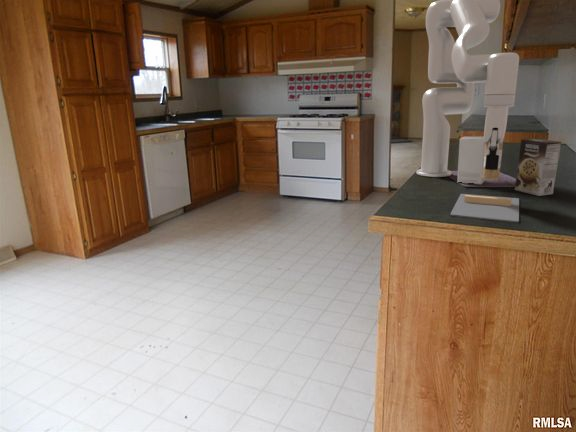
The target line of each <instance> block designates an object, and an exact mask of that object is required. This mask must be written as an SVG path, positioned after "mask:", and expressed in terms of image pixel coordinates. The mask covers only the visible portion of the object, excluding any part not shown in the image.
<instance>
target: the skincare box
mask: <svg viewBox="0 0 576 432" xmlns="http://www.w3.org/2000/svg"><path fill="white" fill-rule="evenodd" d="M483 138H484V136H469V135H468V136H467V135H466V136H465V135H464V136H462V137H460V138H459V142H458V143H459V147H458V161H457V163H458V164H457V183H458V182H462V183H461V184H468V183H474V184H473V185H482V184H483V183H484V182H485V181H486V179H483V178H482V176H483V169H484V157H485V149H486V144H484V143H483ZM458 184H459V183H458Z"/></svg>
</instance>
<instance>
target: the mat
mask: <svg viewBox="0 0 576 432" xmlns="http://www.w3.org/2000/svg"><path fill="white" fill-rule="evenodd" d="M449 217H458V218H471V219H480V220H490V221H498V222H507V223H508V222H509V223H520V198H519V197H518V198H517V197H505V196H496V195H495V196H492V195H480V194H470V193H469V194H468V193H460V194H459V196H458V198H457V200H456V202H455V204H454V206H453V208H452V210H451V212H450V214H449Z"/></svg>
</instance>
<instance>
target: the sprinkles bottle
mask: <svg viewBox="0 0 576 432" xmlns="http://www.w3.org/2000/svg"><path fill="white" fill-rule="evenodd" d="M492 132H493V131H492ZM497 135H498V133H497ZM504 139H505V138H504ZM504 139H503V142H502V144H500V146H499V153H498V155H499V162H498V169H497V170H487V169H485V164H486V155H487V153H488V144H489V140H488V142H486V149H485V157H484V169H483V176H482V178H483V179H485V180H488V181H490V180H491V181H497V180H500V172H501V171H500V170H501V167H502V166H501V165H502V155H503V145H504ZM498 140H499V137H498ZM490 144H491V141H490ZM496 144H498V142H496ZM496 152H497V150H496Z"/></svg>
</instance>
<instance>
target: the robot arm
mask: <svg viewBox="0 0 576 432" xmlns="http://www.w3.org/2000/svg"><path fill="white" fill-rule="evenodd" d="M500 11H501V1H500V0H436V1H434V2H431V4H430V5H429V6H428V8H427V10H426V13H425V14H426V15H425V29H426V33H427V34H426V35H427V38H428V60H427V61H428V63H427V77H428V80H429V82H430V83H432V84H456V87H455V86H453V87H450V86H449V87H447V86H446V87H432V88H430V89H429V88H428V90H426V91H425V92H424V93H423V95H422V100H421V103H422V114H423V125H422V127H423V129H422V130H423V131H422V146H421V160H420V161H421V163H420V168H418V169H417V170H416V175H418V176H422V177H429V178H430V177H431V178H442V177H443V178H445V177H449V176H451V175H452V171H451V169H450V170H449V169H448V165H449V152H450V151H449V150H450V149H449V148H450V139H451V125H450V123H449V121H448V119H447V118H446V116H447V115H464V114H467V113H469V112H470V110H471V109H472V107H473V102H474V96H475V95H474V94H475V93H474V91H475V84H476V83H485V88H484V98H483V108H487V109H486V112H485V113H486V114H485V121H484V128H483V129H484V130H483V131H484V132H483V137H484V138H483V143H484V144H486V142H488V140H489V144H488V153H487V155H486V164H485V169H487V170H497V169H498V162H499V155H498V153H499V146H500V144H502V142H503V143H504V140H503V139H505V136H506V130H507V126H508V125H507V122H508V116H509V108H513V107H515V98H516V91H517V82H518V73H519V63H520V56H519V54H518V53H516V52H498V53H497V52H496V53H492V54H489V53H487V54H483V53H482V54H480V53H479V54H469V53H468V50H470V49H472V48H475V47H476V46H479V45H480V44H481V43H483V42H484V41H485V40H486V39H487V38H488V36H489V33H490V30H491V29H490V24H491V23H494V22H495V21H496V19H497V18H498V16H499V14H500ZM448 28H455V30H456V33H457V36H458V37H457V39H456V40H455V39H454V36H453V35H452V33H451V32H450V30H449V29H448ZM492 131H493V132H492ZM497 133H498V135H497ZM498 137H499V140H498ZM490 141H491V144H490ZM496 142H498V144H496ZM496 150H497V152H496Z"/></svg>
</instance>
